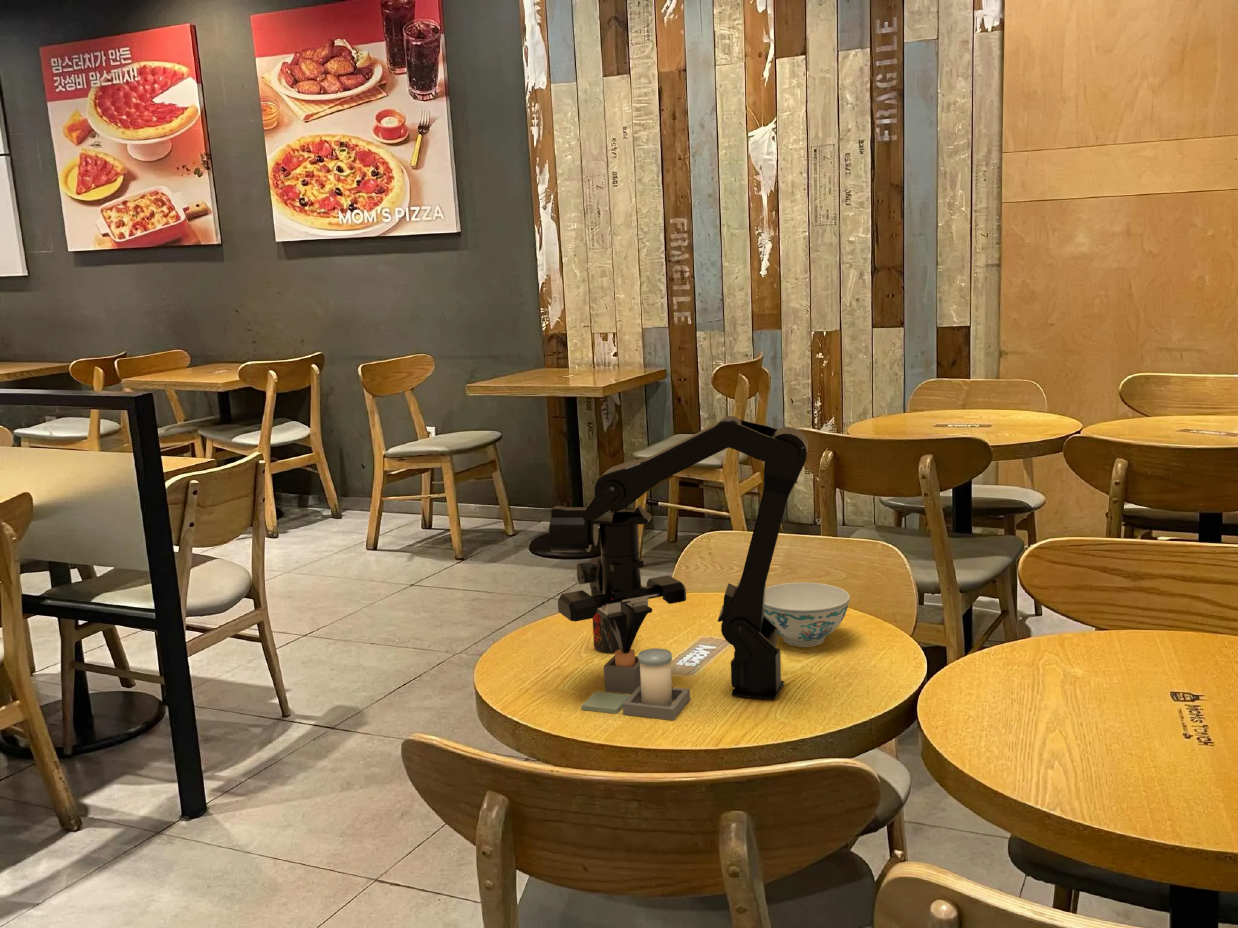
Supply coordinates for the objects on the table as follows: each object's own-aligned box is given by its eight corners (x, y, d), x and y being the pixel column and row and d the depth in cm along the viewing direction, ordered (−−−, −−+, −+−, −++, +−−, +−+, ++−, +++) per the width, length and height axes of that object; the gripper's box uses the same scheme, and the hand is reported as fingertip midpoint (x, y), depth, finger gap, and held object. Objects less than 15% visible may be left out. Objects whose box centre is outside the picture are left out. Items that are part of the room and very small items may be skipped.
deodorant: (629, 652, 180) (625, 564, 178) (593, 654, 181) (588, 565, 178) (629, 640, 186) (625, 554, 184) (594, 641, 186) (590, 556, 184)
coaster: (630, 698, 162) (630, 694, 161) (616, 713, 157) (616, 709, 156) (595, 695, 164) (595, 691, 163) (581, 709, 158) (581, 705, 158)
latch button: (638, 674, 167) (637, 649, 166) (631, 681, 164) (630, 656, 163) (620, 672, 168) (619, 647, 167) (613, 679, 165) (611, 654, 164)
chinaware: (756, 655, 177) (755, 609, 175) (760, 624, 191) (759, 582, 190) (851, 656, 174) (851, 610, 173) (848, 625, 189) (847, 582, 187)
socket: (690, 699, 160) (689, 688, 160) (673, 720, 153) (673, 709, 153) (641, 694, 163) (640, 683, 163) (623, 714, 156) (622, 703, 156)
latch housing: (647, 681, 168) (646, 657, 167) (636, 694, 163) (635, 668, 162) (617, 678, 169) (615, 654, 169) (604, 691, 165) (603, 665, 164)
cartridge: (678, 702, 160) (676, 649, 158) (667, 715, 155) (665, 661, 154) (647, 698, 161) (644, 646, 160) (635, 711, 157) (633, 658, 155)
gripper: (653, 531, 173) (657, 626, 176) (542, 549, 166) (548, 647, 169) (686, 547, 163) (689, 647, 166) (569, 566, 156) (575, 670, 159)
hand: (625, 652), depth 165 cm, fingers closed, pressing on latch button
